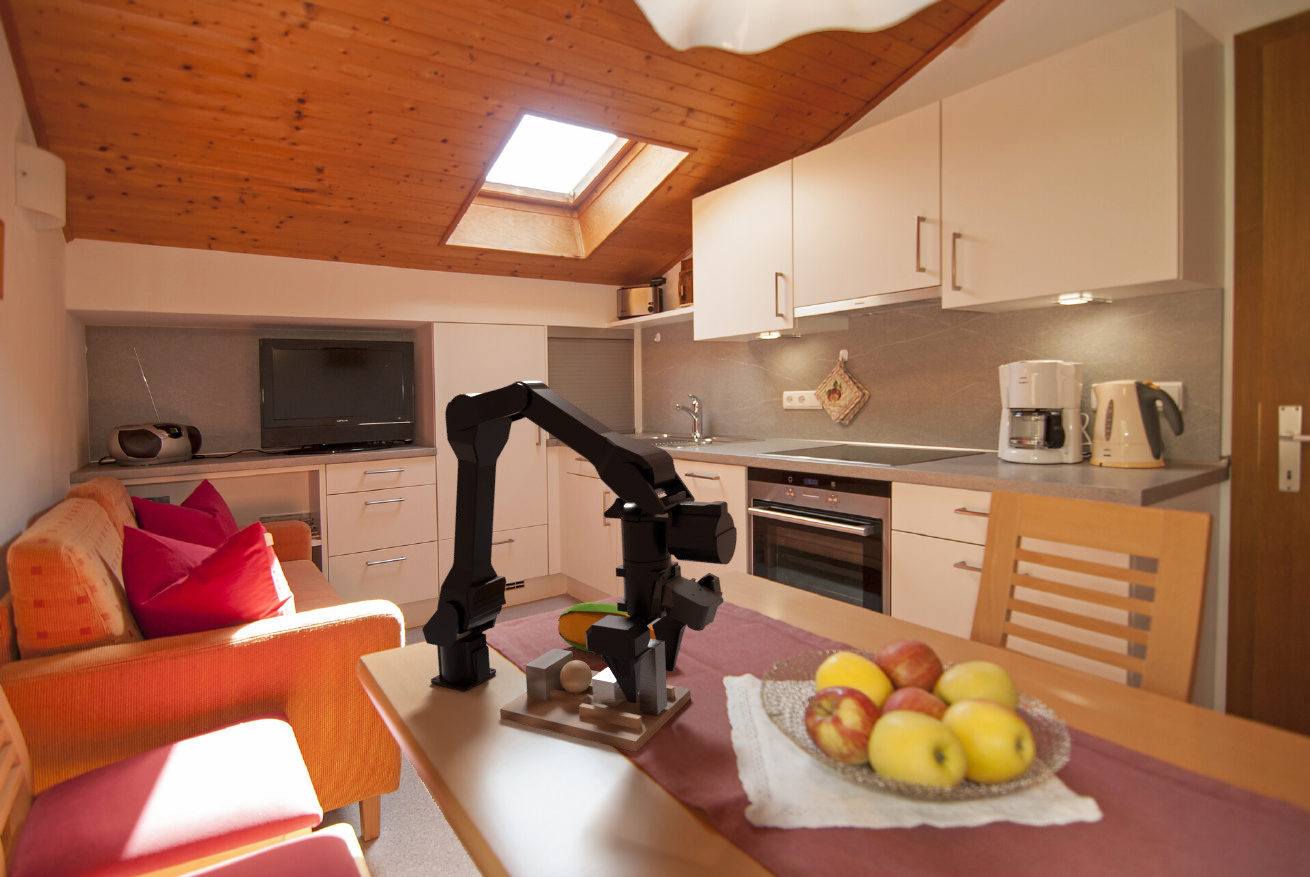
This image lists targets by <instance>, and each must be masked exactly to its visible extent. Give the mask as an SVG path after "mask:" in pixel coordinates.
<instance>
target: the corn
mask: <svg viewBox="0 0 1310 877" xmlns="http://www.w3.org/2000/svg"><path fill="white" fill-rule="evenodd" d="M608 615H612V616H619V617H626V618H629V617H630V616H629V615H628V612H622V611H618V609H617V604H613V603H604V602H603V603H602V602H589V601H586V602H581V603H578V604H574V605H573V606H571V607H569V608H568V609H566V610H564V611H563V612H562V613H561V614H560V615H559V619H558V620H557V621H558V624H557V630H558V634H559V635H560V636H559V637H561V638H562V639H563V641H564V642H565V643H567V644H568V645H569V646H572V647H573V648H576V649H579V650H582V651H585V652H588V653H592V654H594V652H593V651H588V650H587V648H586V631H587V630H588V628H589V627H590V626H591V625H592V624H594V623H596V622H597V621H599V620H601V619H602V618H604V617H606V616H608ZM649 628H650V639H656V638H655V634H654V630H653V627H652V625H651V626H650V627H649Z"/></svg>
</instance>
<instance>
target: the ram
mask: <svg viewBox="0 0 1310 877" xmlns="http://www.w3.org/2000/svg"><path fill="white" fill-rule="evenodd" d="M648 647H649V648H651V650H650V651H649V652H648V653H647V654H646V655H645V656H644V657H643V658H642V660H641V668H640V684H639V695H638V701H637V702H636V703H640V711H643V712H647V713H652V714H657V715H658V714H659V713H660V712H661V711H662V710H663V709H665V708H666V707H667V688H666V685H667V671H666V663H665V641H662V640H656V639H650V641H649V644H648ZM599 672H600V673H599V674H598V675H596V676H595V677H593V678H592V683H593V703H597V704H602V705H606V706H611V707H616V706H617V705H618V704H620V703H621V702H622V701H623V700H625V701H627V699H626V697H625V695H624V693H623V692H622V690H621V688H620V686H619V684H618V683H617V681H616V679H615V677H614V676H613V674H612V672H611V670H610V669H609V667H608V666H607V667H606V668H604V669H603V670H602V671H599Z"/></svg>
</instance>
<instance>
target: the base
mask: <svg viewBox="0 0 1310 877" xmlns="http://www.w3.org/2000/svg"><path fill="white" fill-rule="evenodd" d="M573 654H574V653H573V651H571V650H565V649H559V648H555V647H553V648H552V649H550V650H549V651H547V652H545V653H543V654H542V655H540V656H539V657H537V658H535V659H533V660H531V661H530V662H528V663H527V664H525V679H526V680H525V681H526V682H525V685H526V691H525V692H524V693H523V694H521V695H519V696H517V697H516V698H515V699H513V700H511V701H510V702H509V703H507V704H505V705H504V706H502V707H501V708H499V713H500V714H499V715H500V716H499V717H500V719H502V720H506V721H510V722H514V723H518V724H521V725H522V724H523V725H525V726H526V725H527V726H528V727H529V726H530V727H534V728H537V729H542V730H547V731H551V732H554V733H557V734H563V735H567V736H571V737H574V738H578V739H582V740H586V741H590V742H594V743H599V744H603V745H607V746H610V747H615V748H619V749H624V750H627V751H632V752H637V751H638V750H639V749H641V747H643V746H644V744H646V743H647V742H648V740H650V739H651V738H652V737H653V736H654V735H655V734H656V733H657V732H658V731H659V730H660V729H661V728H662V727H663V726H664V725H665V724H666V723H667V722H668V721H670V719H671V718H672V717H673V716H674V715H675V714H676V713H677V712H678V711H680V709H681V708H683V706H685V705H686V704H687V703H688V701H689V700H690V699H691V697H692V696H691V693H692V692H691V689H690V688H688V687H687V688H686V687H682V686H681V687H680V686H677V685H671V684H666V688H667V707H666V708H665V709H663V710H662V711H661V712H660V713H659V714H658V715H657V714H652V713H647V712H643V711H640V703H631V702H628V701H625V700H623V701H622V702H621V703H620V704H618V705H617V706H616V707H611V706H606V705H602V704H597V703H593V683H592V680H591V683H590V685H589V687H588V688H587V689H586V690H585V691H583V692H581V693H578V694H575V693H570V692H568V691H566V690H565V689H564V688H563V686H562V684H561V681H560V673H561V670H562V668H563V667H564V666H565V665H566V664H567V663H568V662H570V661H573V660H574V655H573ZM591 672H592V678H593V677H595V676H596V675H598V674H599V673H600V672H601V671H596V670H592V669H591Z"/></svg>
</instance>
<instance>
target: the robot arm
mask: <svg viewBox="0 0 1310 877" xmlns="http://www.w3.org/2000/svg"><path fill="white" fill-rule="evenodd" d="M444 413H445V427H446V436H447V437H446V438H447V442H448V444H449V446H450V448H451V449H452V452H453V453H454V455H455V457H456V459H457V476H456V477H457V478H456V496H455V497H456V498H455V500H456V501H455V517H454V518H455V520H454V521H455V522H454V543H453V544H454V545H453V546H454V547H453V563H452V566H451V567H450V570H449V571H448V573H447V574H446V576H445V578H444V580H443V582H442V584H441V586H440V591H439V597H438V603H437V608H436V611H435V612H434V613H433V615H432V616H431V617H430V618H429V619H428V621H427V622H426V624H424V626H423V627H422V633H423V636H424V638H425V642H426V644H429V645H433V646H437V648H436V649H437V650H436V651H437V661H438V662H437V663H438V664H437V665H438V675H436V676H434V677H433V678H431V679H430V683H431V684H433V685H437V686H442V687H446V688H450V689H456V690H459V691H463V692H464V691H467V690H470V689H471V688H473V687H475V686H476V685H479V684H480V683H482V682H483V681H485V680H487V679H489V678H490V677H492V676H494V675H496V674H497V669H496V668H493V667H491V666H490V650H489V645H488V643H487V633H485V631H487V630H490V629H493V628H495V626H496V625H495V624H496V621H497V616H499V615H500V613H501V612H502V608H503V606H505V605H506V604H507V601H506V596H505V590H506V585H507V579H506V577H505V576H501V575H498V573H497V571H496V570H495V568H494V566H493V565H492V551H493V550H492V549H493V536H494V535H493V533H494V513H495V497H496V496H495V495H496V492H495V491H496V478H497V477H496V475H497V463H498V462H497V461H498V459H499V457H500V456H501V453H502V452H503V450H504V448H505V446H506V445H507V443H508V441H509V438H510V432H511V429H512V428H511V427H512V423H514V422H517V421H521V420H522V419H525V418H527V420H528V421H530V422H532V423H533V424H535V425H536V426H538V427H539V428H540V429H542V430H543V431H545V432H546V433H548V434H549V435H551V436H552V437H554V438H555V439H557V440H558V441H560V442H561V443H562V444H564V445H565V446H567V447H568V448H569V449H570V450H572V451H574V452H575V453H577V454H578V455H580V456H581V457H583V458H584V459H585V460H587V461H588V462H589V464H591V465H592V466H593V467H594V469H595V470H596V472H597V474H598V477H599V479H600V480H601V481H602V482H603V483H604V484H605V485H606V486H607V487H608V488H609V489H610V490H611V491H612V492H613V493H614V494H615V495H616V496H617V497H616V498H615V500H614V502H613V503H612V504H611V505H610V506H609V507H608V508H607V509H606V510H605V511H604V512H603V517H604V518H605V519H618V520H620V528H621V529H620V530H621V531H620V533H621V534H620V535H621V555H622V559H621V560H622V564H621V565H619V566H617V567H615V577H619V578H623V579H622V580H623V599H621V600H619V601H617V604H616V605H617V609H618V611H622V612H628V615H629V616H630V617H629V618H626V617H619V616H612V615H608V616H606V617H604V618H602V619H601V620H599V621H597V622H596V623H594V624H592V625H591V626H590V627H589V628H588V630H587V631H586V648H587V650H588V651H593V652H594V653H593V654H594V655H598V656H600V657H601V659H602V660H603V661H604V663H605V665H607V667H609V669H610V670H611V672H612V674H613V676H614V677H615V679H616V681H617V683H618V684H619V686H620V688H621V690H622V692H623V693H624V695H625V697H626V699H627V701H628V702H631V703H636V702H637V701H638V695H639V684H640V668H641V660H642V658H643V657H644V656H645V655H646V654H647V653H648V652H649V651H650V650H651V648H649V647H648V644H649V641H650V628H649V627H650V626H651V625H652V627H653V630H654V634H655V638H656V640H662V641H665V663H666V672H670V673H671V672H674V671H675V670H676V666H677V660H678V657H679V652H680V649H681V644H682V640H683V637H684V634H685V630H686V627H688V629H689V630H690V629H691V630H692V631H697V632H700V631H703V630H704V629H705V628H706V626H708V625H709V624H712V623H713V622H714V621H715V617H716V614H717V612H718V608H719V606H721V605H722V604H723V603H724V598H723V593H724V592H723V591H722V588H721V583H720V582H721V581H720V577H718V576H717V575H715V574H713V573H710V572H708V573H706V574H705V575H703V576H702V577H700V579H699V580H698V581H696V580H697V579H696V578H694V577H692V578H690V579H689V578H686V577H683V576H682V570H681V569H682V567H681V565H679V561H685V562H694V563H704V564H715V565H728V564H730V562H731V561H732V560H733V557H734V554H735V552H736V547H737V538H738V537H737V535H738V533H737V527H736V526H735V522H734V518H733V516H732V515H731V513H730V512H729V511H728V510H729V509H728V507H729V506H728V504H729V503H728V502H727V501H724V500H723V501H720V500H715V501H711V502H708V501H707V502H706V501H695V500H696V499H695V497H694V495H693V494H692V492H691V491H690V489H689V488H688V486H687V485H686V483H684V481H683V479H682V478H681V477H680V476H679V474H678V472H677V471H676V468H675V461H674V459H673V457H672V455H671V454H670V453H669V452H668V451H667V450H665V449H663V448H661V447H659V446H656V445H654V444H651V443H649V442H646V441H644V440H642V439H638V438H634V437H631V436H628V435H624V434H622V433H619V432H617V431H614V430H612V429H611V428H609V427H608V426H606V425H605V424H603V423H602V422H601V421H599V420H598V419H596V418H594V416H591V415H590V414H588V413H587V412H585V411H584V410H582V409H580V408H579V407H578V406H576V405H575V404H573V403H572V402H570V401H569V400H568V399H565V398H564V397H562V396H561V395H559V394H557V393H556V392H555V391H553V390H552V389H551V388H550V387H549V386H548V385H547V384H546V383H544V382H543V381H541V380H524V381H523V380H520V381H519V380H518V381H515V382H513V383H512V384H509V385H508V384H507V385H506V386H502V387H500V388H496V389H493V390H489V391H485V392H481V393H479V392H476V393H462V394H461V393H460V394H458V395H456V396H454V397H453V398H452V399H451V401H449V402H447V405H446V408H445V412H444ZM663 494H664V495H663ZM660 495H663V496H662V497H660ZM672 556H673V557H674V558H675V559H676V560H678V561H672Z"/></svg>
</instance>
